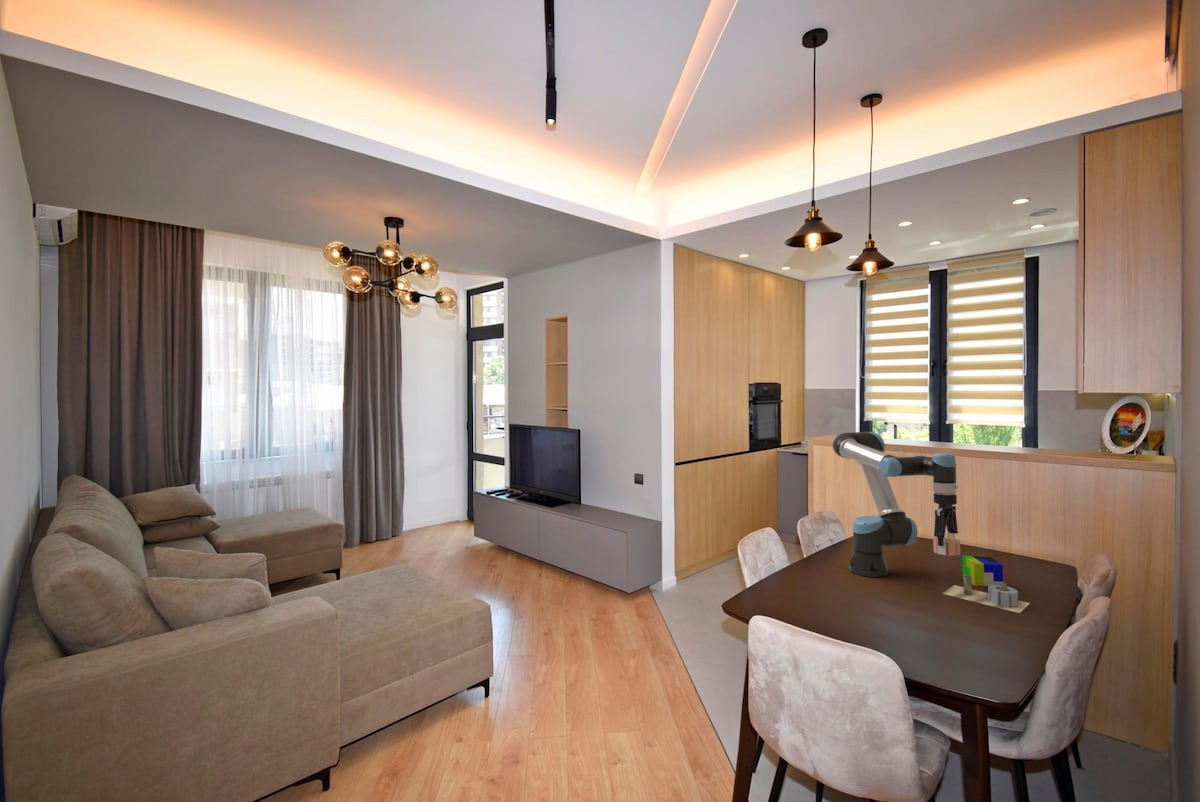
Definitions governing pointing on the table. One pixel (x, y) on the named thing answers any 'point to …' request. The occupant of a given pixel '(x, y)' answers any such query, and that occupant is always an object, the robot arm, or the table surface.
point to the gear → (1003, 596)
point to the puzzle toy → (983, 570)
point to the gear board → (981, 595)
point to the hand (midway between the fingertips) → (946, 552)
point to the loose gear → (949, 546)
